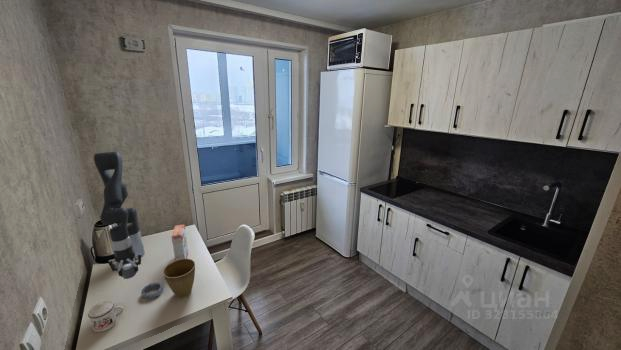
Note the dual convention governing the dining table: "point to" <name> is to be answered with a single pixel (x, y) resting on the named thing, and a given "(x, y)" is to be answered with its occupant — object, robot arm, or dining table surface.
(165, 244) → the dining table surface
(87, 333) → the dining table surface
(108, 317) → the teacup with lid
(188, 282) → the plant pot
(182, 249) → the cracker box
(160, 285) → the faceted grey ring
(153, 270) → the dining table surface
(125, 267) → the cap
